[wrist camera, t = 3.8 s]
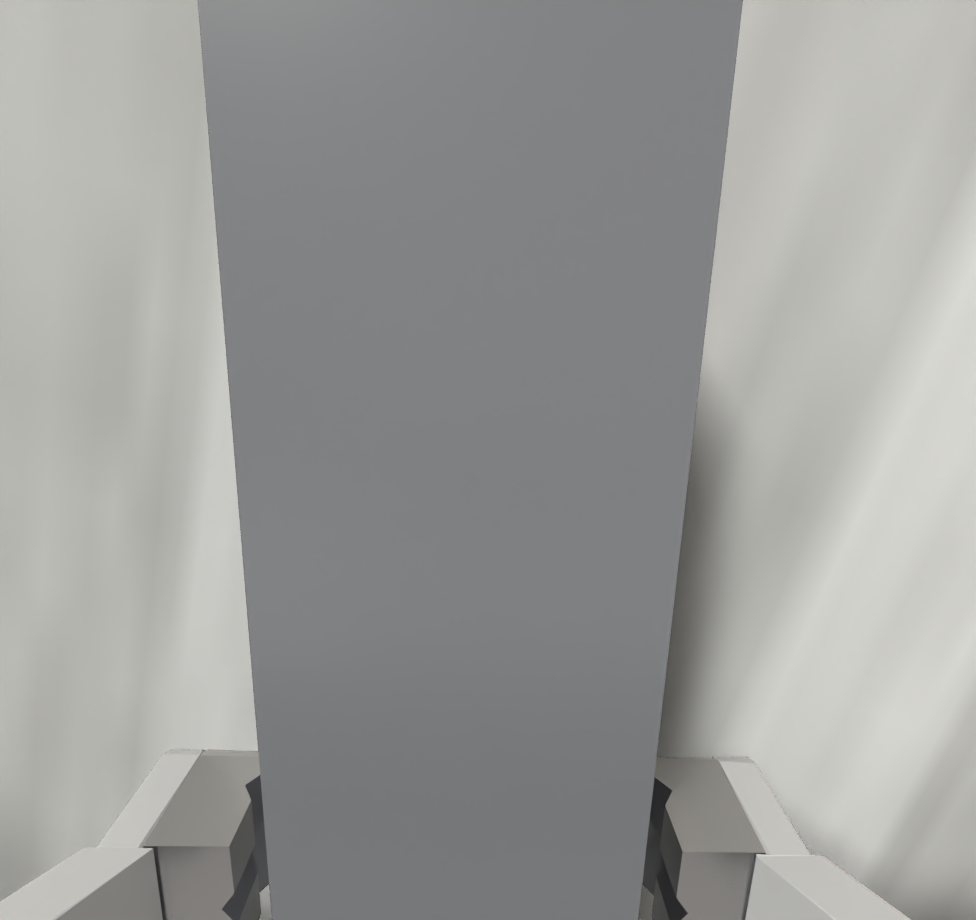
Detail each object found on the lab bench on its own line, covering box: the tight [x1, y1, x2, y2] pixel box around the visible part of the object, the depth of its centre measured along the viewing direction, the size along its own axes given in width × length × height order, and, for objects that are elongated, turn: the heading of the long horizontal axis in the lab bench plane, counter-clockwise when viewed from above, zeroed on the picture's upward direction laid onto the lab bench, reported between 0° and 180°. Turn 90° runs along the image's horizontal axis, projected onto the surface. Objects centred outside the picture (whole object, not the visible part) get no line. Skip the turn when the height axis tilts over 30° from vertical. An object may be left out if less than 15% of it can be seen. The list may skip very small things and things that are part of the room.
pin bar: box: [198, 0, 743, 920], centre depth 9 cm, size 18×4×6 cm, turn 178°
